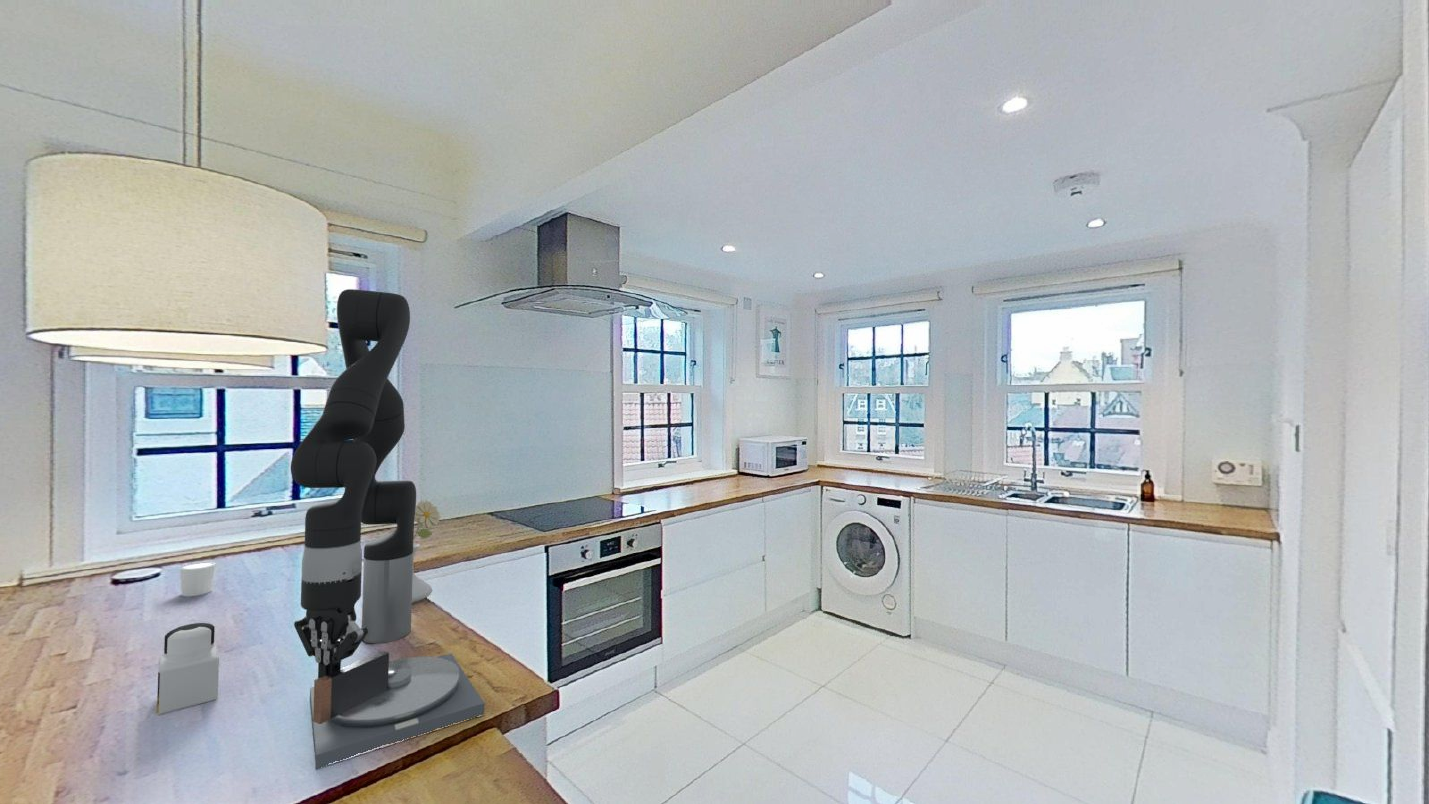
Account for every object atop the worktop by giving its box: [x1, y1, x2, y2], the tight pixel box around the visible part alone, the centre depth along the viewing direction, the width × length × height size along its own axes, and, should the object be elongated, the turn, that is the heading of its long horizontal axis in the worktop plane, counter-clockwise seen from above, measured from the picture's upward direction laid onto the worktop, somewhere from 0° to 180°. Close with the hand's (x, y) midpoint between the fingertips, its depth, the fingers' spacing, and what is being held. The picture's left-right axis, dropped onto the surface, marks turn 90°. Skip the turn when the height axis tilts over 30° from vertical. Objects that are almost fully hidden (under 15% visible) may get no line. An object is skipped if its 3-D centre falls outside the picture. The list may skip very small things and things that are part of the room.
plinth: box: [309, 652, 485, 770], centre depth 89 cm, size 22×22×2 cm
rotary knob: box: [313, 650, 459, 726], centre depth 88 cm, size 22×19×8 cm
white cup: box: [179, 561, 217, 597], centre depth 140 cm, size 7×7×7 cm
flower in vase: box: [412, 500, 441, 603], centre depth 139 cm, size 13×11×25 cm
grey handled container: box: [156, 622, 220, 716], centre depth 91 cm, size 7×7×12 cm
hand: (329, 685), depth 83 cm, fingers closed
